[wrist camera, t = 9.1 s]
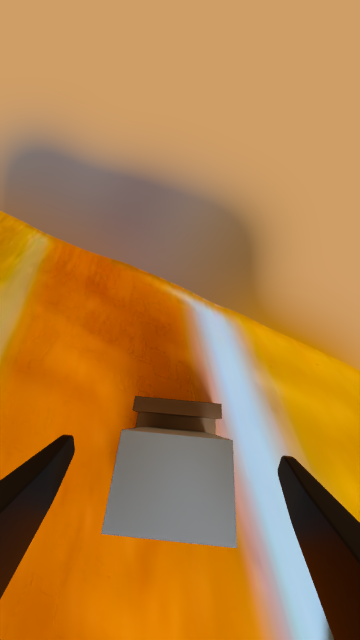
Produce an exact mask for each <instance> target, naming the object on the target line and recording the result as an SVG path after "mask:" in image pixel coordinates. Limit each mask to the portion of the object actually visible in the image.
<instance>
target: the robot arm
mask: <svg viewBox="0 0 360 640" xmlns="http://www.w3.org/2000/svg"><path fill="white" fill-rule="evenodd" d="M74 451H75V447H74V438H73V436H72V435H62V436H60V437H59V438H57V439H56V440H55V441H53V442H52V443H51V444H49V445H48V446H47V447H45V448H44V449H42V450H41V451H40V452H38V453H37V454H36V455H34V456H33V457H32V458H30V459H29V460H27V461H26V462H25V463H23V464H22V465H21V466H19V467H18V468H17V469H15V470H14V471H12V472H11V473H10V474H8V475H7V476H6V477H4V478H3V479H2V480H0V599H1V597H2V595H3V593H4V591H5V589H6V588H7V586H8V584H9V582H10V580H11V578H12V576H13V575H14V573H15V571H16V569H17V567H18V565H19V564H20V562H21V560H22V558H23V556H24V554H25V552H26V551H27V549H28V547H29V545H30V543H31V541H32V539H33V538H34V536H35V534H36V532H37V530H38V528H39V526H40V525H41V523H42V521H43V519H44V517H45V515H46V513H47V512H48V510H49V508H50V506H51V504H52V502H53V500H54V498H55V496H56V494H57V492H58V489H59V487H60V485H61V483H62V480H63V478H64V476H65V474H66V471H67V469H68V467H69V464H70V462H71V460H72V458H73V455H74ZM278 477H279V480H280V484H281V487H282V491H283V494H284V498H285V501H286V505H287V509H288V512H289V516H290V519H291V522H292V525H293V528H294V531H295V534H296V537H297V539H298V542H299V545H300V548H301V550H302V553H303V556H304V558H305V561H306V564H307V567H308V569H309V572H310V575H311V578H312V580H313V583H314V586H315V588H316V591H317V594H318V597H319V599H320V602H321V605H322V608H323V610H324V613H325V616H326V619H327V621H328V624H329V627H330V629H331V632H332V635H333V638H334V640H360V522H359V521H357V520H356V519H355V518H354V517H353V516H352V515H351V514H350V513H349V512H348V511H347V510H346V509H345V508H344V507H343V506H342V505H341V504H340V503H339V502H338V501H337V500H336V499H335V498H334V497H333V496H332V495H331V494H330V493H329V492H328V491H327V490H326V489H325V488H324V487H323V486H322V485H321V484H320V483H319V482H318V481H317V480H316V479H315V478H314V477H313V476H312V475H311V474H310V473H309V472H308V471H307V470H306V469H305V468H304V467H303V466H302V465H301V464H300V463H299V462H298V461H297V460H296V459H295V458H293V457H291V456H282V458H281V461H280V464H279V467H278Z"/></svg>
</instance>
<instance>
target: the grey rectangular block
mask: <svg viewBox="0 0 360 640" xmlns="http://www.w3.org/2000/svg"><path fill="white" fill-rule="evenodd" d="M101 534H108V535H117V536H127V537H136V538H146V539H155V540H165V541H175V542H184V543H194V544H203V545H213V546H223V547H232V548H237V536H236V512H235V487H234V463H233V440H230V439H227V438H223V437H220V436H217V435H214V434H210V433H207V432H200V431H189V430H179V429H168V428H158V427H147V426H145V427H138V428H131V429H124V430H122V432H121V437H120V442H119V447H118V452H117V457H116V462H115V467H114V472H113V477H112V482H111V487H110V492H109V497H108V502H107V507H106V512H105V517H104V522H103V527H102V533H101Z"/></svg>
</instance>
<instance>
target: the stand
mask: <svg viewBox="0 0 360 640" xmlns="http://www.w3.org/2000/svg"><path fill="white" fill-rule="evenodd" d="M133 411H137V412H138V416H137V422H136V428H138V427H145V426H147V427H158V428H168V429H179V430H189V431H200V432H207V433H210V434H214V435H215V419H222V410H221V404H217V403H206V402H195V401H184V400H173V399H162V398H151V397H141V396H135V400H134V405H133Z"/></svg>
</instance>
